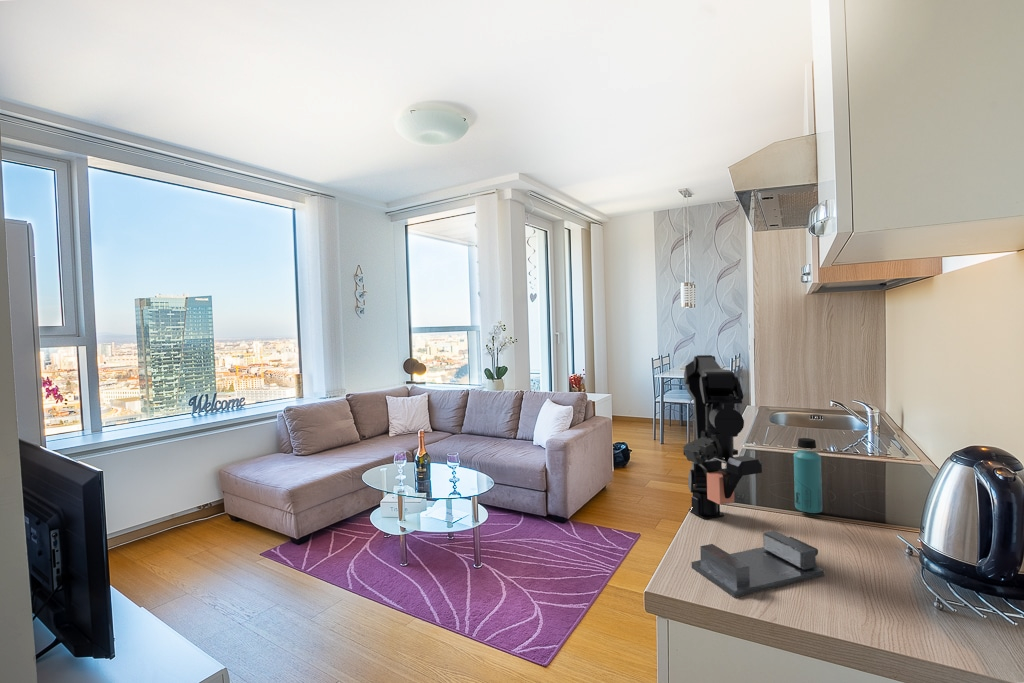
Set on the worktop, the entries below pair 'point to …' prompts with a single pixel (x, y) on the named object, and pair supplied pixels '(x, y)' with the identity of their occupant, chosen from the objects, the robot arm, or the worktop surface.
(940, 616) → the worktop surface
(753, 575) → the vise base
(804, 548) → the sliding jaw
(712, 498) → the brick-red block
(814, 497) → the beverage bottle
